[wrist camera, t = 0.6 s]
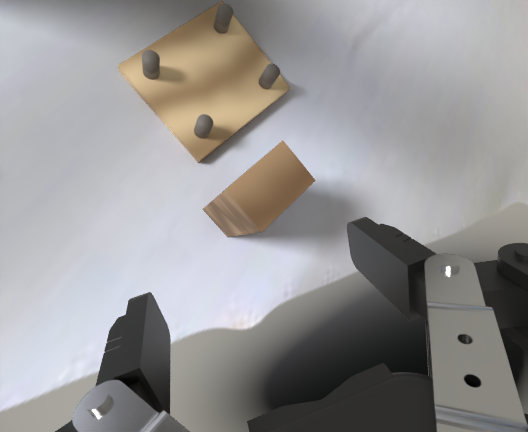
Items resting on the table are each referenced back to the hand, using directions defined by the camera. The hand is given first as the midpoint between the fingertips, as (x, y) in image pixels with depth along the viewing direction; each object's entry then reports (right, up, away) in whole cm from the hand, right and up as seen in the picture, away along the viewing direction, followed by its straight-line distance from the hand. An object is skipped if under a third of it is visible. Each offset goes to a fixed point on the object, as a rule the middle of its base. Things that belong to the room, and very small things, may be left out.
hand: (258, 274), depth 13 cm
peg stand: (-6, +17, +23) cm, 29 cm away
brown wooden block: (-3, +4, +23) cm, 23 cm away
